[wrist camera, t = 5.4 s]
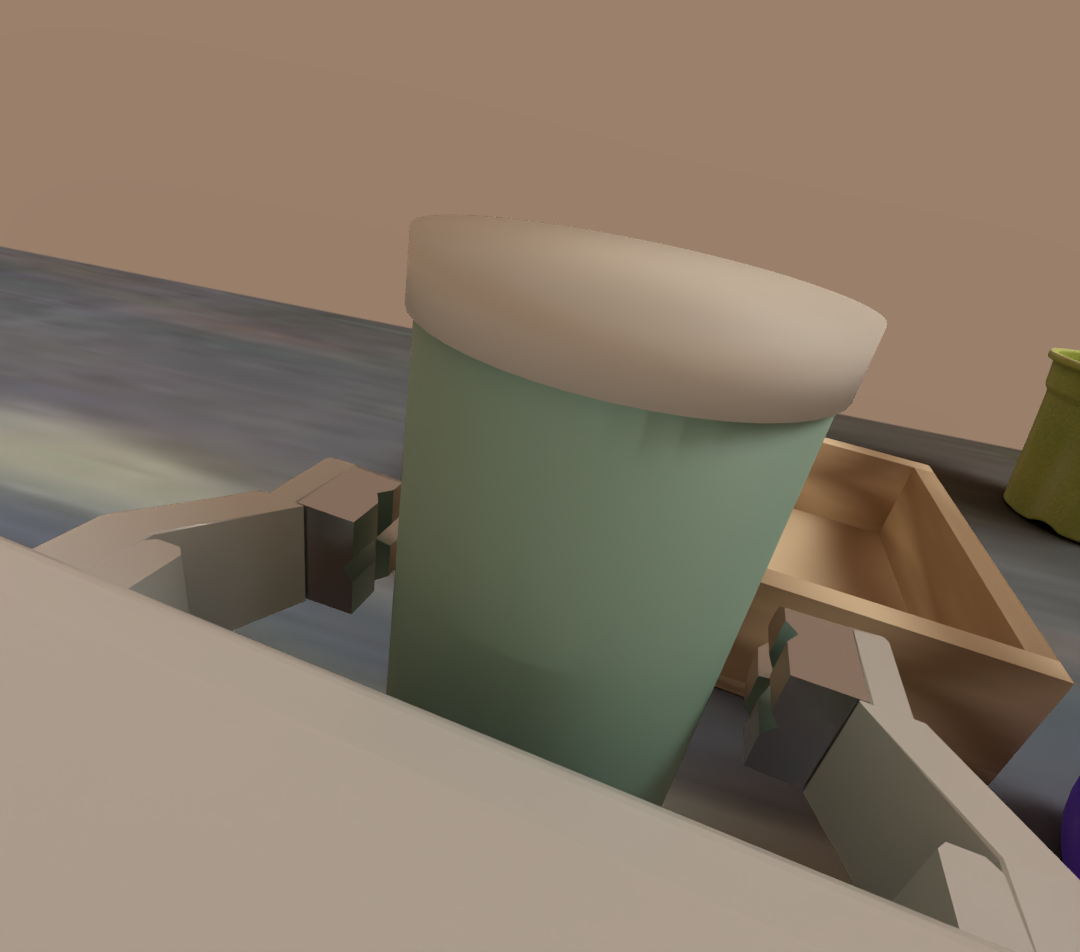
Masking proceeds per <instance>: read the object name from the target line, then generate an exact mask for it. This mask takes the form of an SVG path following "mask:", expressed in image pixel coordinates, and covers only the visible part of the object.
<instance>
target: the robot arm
mask: <svg viewBox="0 0 1080 952" xmlns="http://www.w3.org/2000/svg"><path fill="white" fill-rule="evenodd" d="M400 495H401V480H398V479H395V478H392V477H389V476H386V475H384V474H381V473H378V472H375V471H372V470H369V469H367V468H364V467H361V466H357V465H356V464H353V463H349V462H346V461H343V460H340V459H337V458H326V459H324V460H323V461H321V462H320V463H318V464H316V465H315V466H313V467H311V468H310V469H308V470H306V471H305V472H303V473H301V474H300V475H298V476H296V477H295V478H293V479H291V480H290V481H288V482H287V483H285V484H283V485H282V486H280V487H278V488H277V489H275V490H273V491H272V492H270V493H266V492H263V491H256V492H249V493H243V494H236V495H230V496H223V497H216V498H210V499H203V500H197V501H190V502H184V503H177V504H170V505H164V506H157V507H151V508H144V509H138V510H131V511H124V512H118V513H111V514H105V515H101V516H99V517H97V518H95V519H93V520H91V521H89V522H87V523H85V524H82V525H80V526H78V527H76V528H74V529H72V530H70V531H68V532H66V533H64V534H62V535H60V536H58V537H56V538H54V539H52V540H50V541H48V542H46V543H44V544H42V545H39V546H37V547H35V548H33V549H30V548H28V547H25V546H23V545H21V544H18V543H16V542H13V541H11V540H8V539H6V538H4V537H1V536H0V952H1080V880H1079V879H1078V878H1077V877H1076V876H1075V875H1074V874H1073V873H1072V872H1071V871H1070V870H1069V869H1068V868H1067V866H1066V865H1065V864H1064V863H1063V862H1062V861H1061V860H1060V859H1059V858H1058V857H1057V856H1056V855H1055V854H1054V853H1053V852H1052V851H1051V850H1050V849H1049V848H1048V847H1047V846H1046V845H1045V844H1044V843H1043V842H1042V841H1041V840H1040V839H1039V838H1038V837H1037V836H1036V835H1035V834H1034V833H1033V832H1032V831H1031V830H1030V829H1029V828H1028V827H1027V826H1026V825H1025V824H1024V823H1023V822H1022V821H1021V820H1020V819H1019V818H1018V817H1017V816H1016V815H1015V814H1014V813H1013V812H1012V811H1011V810H1010V809H1009V808H1008V807H1007V806H1006V805H1005V804H1004V803H1003V802H1002V801H1001V799H1000V798H999V797H998V796H997V795H996V794H995V793H994V792H993V791H992V790H991V789H990V788H989V787H988V786H987V785H986V784H985V783H984V782H983V781H982V780H981V779H980V778H979V777H978V776H977V775H976V774H975V773H974V772H973V771H972V770H971V769H970V768H969V767H968V766H967V765H966V764H965V763H964V762H963V761H962V760H961V759H960V758H959V757H958V756H957V755H956V754H955V753H954V752H953V751H952V750H951V749H950V748H949V747H948V746H947V745H946V744H945V743H944V742H943V741H942V740H941V739H940V738H939V737H938V736H937V735H936V734H935V733H934V731H933V730H932V729H931V728H930V727H929V726H928V725H927V724H926V723H923V722H920V721H917V720H915V719H914V718H913V715H912V712H911V708H910V705H909V702H908V699H907V696H906V693H905V690H904V687H903V684H902V681H901V678H900V675H899V671H898V668H897V665H896V662H895V659H894V656H893V653H892V650H891V647H890V644H889V642H888V641H887V640H886V639H885V638H884V637H882V636H879V635H875V634H872V633H868V632H865V631H862V630H858V629H855V628H851V627H847V626H843V625H840V624H837V623H834V622H830V621H827V620H824V619H820V618H817V617H814V616H811V615H807V614H804V613H801V612H798V611H794V610H791V609H788V608H784V607H781V606H779V608H778V609H777V610H776V612H775V613H774V615H773V617H772V619H771V621H770V623H769V625H768V639H769V642H768V643H766V644H764V645H762V646H760V647H758V649H757V651H756V653H755V656H754V658H753V660H752V663H751V666H750V669H749V672H748V676H747V679H746V686H745V693H744V706H745V708H746V709H747V711H748V712H749V714H750V717H749V719H748V721H747V723H746V725H745V727H744V766H747V767H749V768H752V769H754V770H756V771H759V772H761V773H764V774H766V775H768V776H771V777H773V778H776V779H778V780H781V781H783V782H785V783H788V784H790V785H793V786H795V787H797V788H800V789H802V790H804V792H803V794H804V796H805V797H806V799H807V801H808V803H809V805H810V806H811V808H812V810H813V812H814V814H815V815H816V817H817V819H818V821H819V823H820V824H821V826H822V828H823V830H824V832H825V834H826V835H827V837H828V839H829V841H830V843H831V844H832V846H833V848H834V850H835V852H836V853H837V855H838V857H839V859H840V861H841V862H842V864H843V866H844V868H845V870H846V871H847V873H848V875H849V877H850V879H851V880H852V882H853V884H854V886H853V885H850V884H848V883H845V882H843V881H840V880H838V879H835V878H833V877H830V876H828V875H825V874H823V873H821V872H818V871H816V870H813V869H811V868H808V867H806V866H803V865H801V864H799V863H796V862H794V861H791V860H789V859H786V858H784V857H782V856H779V855H777V854H774V853H772V852H769V851H767V850H765V849H762V848H760V847H757V846H755V845H752V844H750V843H748V842H745V841H743V840H740V839H738V838H735V837H733V836H731V835H728V834H726V833H723V832H721V831H718V830H716V829H714V828H711V827H709V826H706V825H704V824H701V823H699V822H697V821H694V820H692V819H689V818H687V817H684V816H682V815H679V814H677V813H675V812H672V811H670V810H667V809H665V808H662V807H660V806H658V805H655V804H653V803H650V802H648V801H645V800H643V799H641V798H638V797H636V796H633V795H631V794H628V793H626V792H624V791H621V790H619V789H616V788H614V787H611V786H609V785H607V784H604V783H602V782H599V781H597V780H594V779H592V778H590V777H587V776H585V775H582V774H580V773H577V772H575V771H573V770H570V769H568V768H565V767H563V766H560V765H558V764H556V763H553V762H551V761H548V760H546V759H543V758H541V757H538V756H536V755H534V754H531V753H529V752H526V751H524V750H521V749H519V748H516V747H514V746H511V745H509V744H507V743H504V742H502V741H499V740H497V739H494V738H492V737H489V736H487V735H485V734H482V733H480V732H477V731H475V730H472V729H470V728H467V727H465V726H462V725H460V724H458V723H455V722H453V721H450V720H448V719H445V718H443V717H440V716H438V715H436V714H433V713H431V712H428V711H426V710H423V709H421V708H418V707H416V706H413V705H411V704H409V703H406V702H404V701H401V700H399V699H396V698H394V697H391V696H389V695H387V694H384V693H382V692H379V691H377V690H374V689H372V688H369V687H367V686H364V685H362V684H360V683H357V682H355V681H352V680H350V679H347V678H345V677H342V676H340V675H338V674H335V673H333V672H330V671H328V670H325V669H323V668H320V667H318V666H316V665H313V664H311V663H308V662H306V661H303V660H301V659H299V658H296V657H294V656H291V655H289V654H286V653H284V652H281V651H279V650H277V649H274V648H272V647H269V646H267V645H264V644H262V643H260V642H257V641H255V640H252V639H250V638H247V637H245V636H242V635H240V634H238V633H235V632H233V631H231V630H234V629H236V628H239V627H241V626H244V625H246V624H249V623H251V622H254V621H256V620H259V619H261V618H264V617H266V616H269V615H271V614H274V613H276V612H279V611H281V610H284V609H286V608H289V607H291V606H294V605H296V604H299V603H301V602H304V601H305V600H306V598H307V599H309V600H312V601H315V602H318V603H321V604H324V605H327V606H329V607H332V608H335V609H338V610H341V611H344V612H346V613H349V614H352V613H353V612H354V611H355V610H356V609H357V608H358V607H359V606H360V605H361V604H362V603H363V602H364V601H365V600H366V599H367V598H368V597H369V595H370V594H371V593H372V592H373V591H374V582H375V580H376V579H380V578H383V577H386V576H389V575H390V573H391V572H392V571H393V570H394V569H395V565H396V551H397V537H398V523H399V509H400Z"/></svg>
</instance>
